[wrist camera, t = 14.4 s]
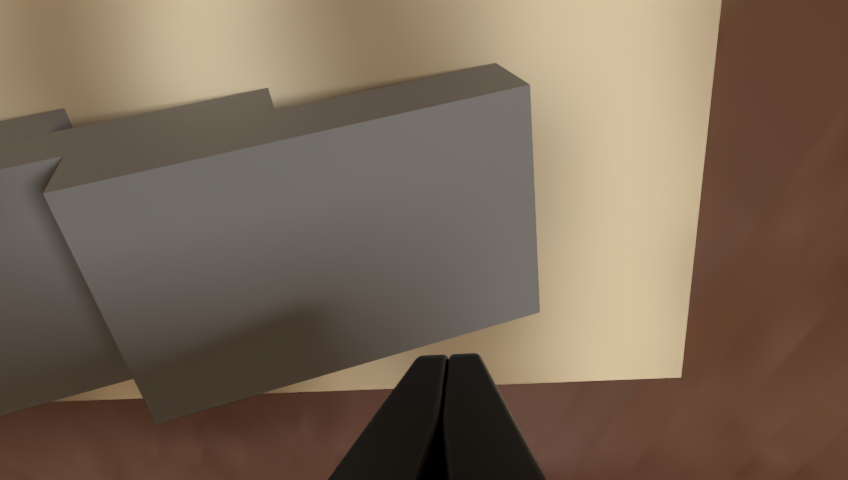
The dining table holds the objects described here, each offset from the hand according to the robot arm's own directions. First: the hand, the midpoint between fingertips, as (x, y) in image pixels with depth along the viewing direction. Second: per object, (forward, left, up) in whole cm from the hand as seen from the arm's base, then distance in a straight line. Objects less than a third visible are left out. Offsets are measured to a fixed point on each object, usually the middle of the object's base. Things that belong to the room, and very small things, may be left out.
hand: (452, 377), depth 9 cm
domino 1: (-1, 0, -5) cm, 5 cm away
